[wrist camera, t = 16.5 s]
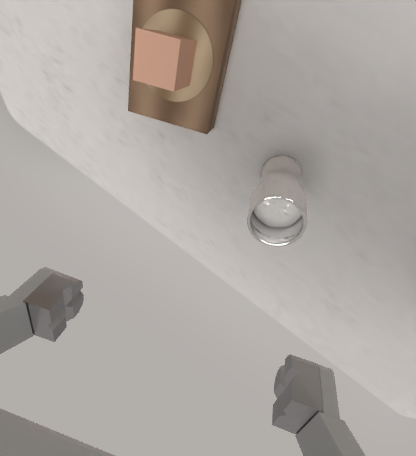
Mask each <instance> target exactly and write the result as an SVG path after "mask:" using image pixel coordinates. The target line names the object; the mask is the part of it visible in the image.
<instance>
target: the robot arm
mask: <svg viewBox="0 0 416 456" xmlns="http://www.w3.org/2000/svg"><path fill="white" fill-rule="evenodd" d="M82 287H83V285H82V281H81V280H78V279H76V278H73V277H70V276H67V275H65V274H62V273H60V272H57V271H55V270H52V269H49V268H46V267H45V268H42V269H40V270H39V271H38V272H36V273H35V274H34V275H33V276H32V277H31V278H30V279H28V280H27V281H26V282H25V283H24V284H23V285H21V286H20V287H19V288H18V289H17V290H16V291H14V292H13V293H12V294H11V295H10V296H6V295H4V296H2V297H0V354H1V353H3V352H5V351H6V350H8V349H10V348H12V347H14V346H16V345H18V344H19V343H21V342H23V341H25V340H27V339H29V338H30V337H32V336H33V335H36V336H39V337H42V338H45V339H48V340H51V341H53V342H55V341H56V339H57V338H58V337H59V336H60V335H61V333H62V332H63V331H64V330H65V328H66V321H68V320H70V319H72V318H74V317H75V316H76V315H77V313H78V312H79V310H80V308H81V306H82V304H83V300H84V299H83V294H82V293H81V291H80V290H81V289H82ZM274 393H275V395H276V397H277V400H276V402H275V403H274V404H273V420H272V425H274V426H277V427H279V428H282V429H284V430H286V431H289V432H291V433H294V434H296V438H297V441H298V443H299V446H300V448H301V451H302V453H303V456H365V454H364V453H363V451H362V449H361V448H360V446H359V444H358V443H357V441H356V439H355V438H354V436H353V434H352V433H351V431H350V430H349V428H348V426H347V425H346V423H345V421H343V420H341V419H340V417H339V409H338V401H337V394H336V386H335V378H334V373H333V371H332V369H330V368H327V367H324V366H321V365H318V364H316V363H314V362H311V361H308V360H305V359H302V358H299V357H296V356H293V355H288V356H287V358H286V359H285V365H283V366H281V367H280V368H279V370H278V372H277V375H276V379H275V384H274ZM0 456H114V455H112V454H110V453H107V452H105V451H102V450H100V449H98V448H95V447H93V446H90V445H88V444H85V443H83V442H80V441H78V440H76V439H73V438H71V437H68V436H66V435H64V434H61V433H59V432H56V431H54V430H51V429H49V428H47V427H44V426H42V425H39V424H37V423H34V422H32V421H29V420H27V419H25V418H22V417H20V416H17V415H15V414H12V413H10V412H8V411H5V410H3V409H0Z"/></svg>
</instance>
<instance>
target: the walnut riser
mask: <svg viewBox="0 0 416 456" xmlns="http://www.w3.org/2000/svg"><path fill="white" fill-rule="evenodd" d="M240 4H241V0H133V21H132V41H131V62H130V83H129V103H128V111H130V112H134V113H137V114H140V115H144V116H147V117H151V118H154V119H157V120H161V121H164V122H168V123H171V124H174V125H178V126H181V127H185V128H188V129H191V130H195V131H198V132H201V133H205V134H208V133H209V132H210V131H211V130H212V129H213V128H214V123H215V119H216V114H217V109H218V105H219V100H220V96H221V91H222V87H223V82H224V77H225V73H226V68H227V64H228V59H229V54H230V50H231V45H232V41H233V36H234V32H235V27H236V22H237V18H238V13H239V9H240ZM136 28H143V29H151V30H159V31H162V32H166V33H170V34H174V35H177V36H181V37H185V38H189V39H193V40H196V41H197V44H196V50H195V56H194V63H193V69H192V75H191V81H190V86H188V87H185V88H182V89H180V90H177V91H174V92H173V91H170V90H166V89H163V88H159V87H156V86H152V85H149V84H145V83H142V82H138V81H135V80H133V67H134V49H135V31H136Z"/></svg>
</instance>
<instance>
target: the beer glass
mask: <svg viewBox="0 0 416 456" xmlns="http://www.w3.org/2000/svg"><path fill="white" fill-rule="evenodd" d="M300 180H301V168H300V166H299V164H298V163H297V162H296V161H295V160H294V159H293V158H291V157H288V156H276V157H273V158H271V159H270V160H268V161H267V162H266V163H265V165H264V166H263V168H262V171H261V181H260V182H259V183H258V184H257V186H256V188H255V189H254V191H253V194H252V196H251V199H250V204H249V211H248V217H247V224H248V228H249V230H250V232H251V234H252V235H253V236H254V237H255V238H256V239H257V240H259V241H260V242H262V243H264V244H267V245H271V246H284V245H288V244H291V243H293V242H295V241H296V240H297V239H299V238H300V237H301V235H302V234H303V233H304V231H305V228H306V223H307V221H306V218H307V199H306V194H305V191H304V189H303V186H302V185H301V183H300Z"/></svg>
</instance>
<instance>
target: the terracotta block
mask: <svg viewBox="0 0 416 456" xmlns="http://www.w3.org/2000/svg"><path fill="white" fill-rule="evenodd" d="M196 44H197V41H196V40H193V39H189V38H185V37H181V36H177V35H174V34H170V33H166V32H162V31H159V30H151V29H143V28H136V31H135V49H134V67H133V80H135V81H138V82H142V83H145V84H149V85H152V86H156V87H159V88H163V89H166V90H170V91H173V92H174V91H177V90H180V89H182V88H185V87H188V86H190V81H191V75H192V69H193V63H194V56H195V50H196Z"/></svg>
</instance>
